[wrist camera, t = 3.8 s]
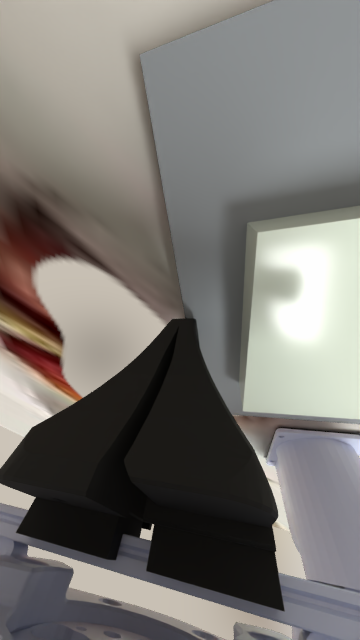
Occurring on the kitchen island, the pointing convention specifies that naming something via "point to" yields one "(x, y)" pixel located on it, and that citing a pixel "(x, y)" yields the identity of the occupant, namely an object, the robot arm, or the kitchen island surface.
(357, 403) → the tile
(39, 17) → the kitchen island surface
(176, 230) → the raised plate
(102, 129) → the kitchen island surface
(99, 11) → the kitchen island surface
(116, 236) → the kitchen island surface
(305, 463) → the robot arm
